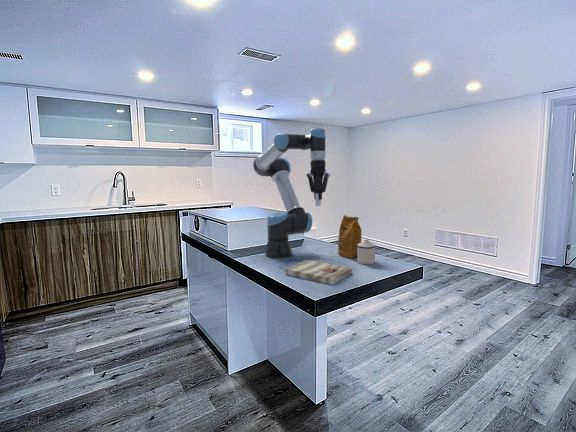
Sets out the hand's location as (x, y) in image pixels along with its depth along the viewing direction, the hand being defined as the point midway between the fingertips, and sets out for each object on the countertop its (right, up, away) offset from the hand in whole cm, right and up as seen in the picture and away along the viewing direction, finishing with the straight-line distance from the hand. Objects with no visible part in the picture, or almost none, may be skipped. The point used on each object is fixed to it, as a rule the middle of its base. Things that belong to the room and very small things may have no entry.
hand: (318, 205), depth 164 cm
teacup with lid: (+24, -29, -2) cm, 37 cm away
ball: (+1, -31, -23) cm, 38 cm away
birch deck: (-2, -31, -20) cm, 37 cm away
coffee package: (+18, -27, +11) cm, 34 cm away
